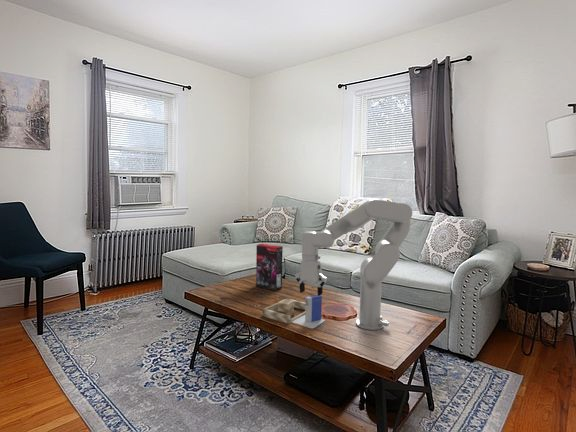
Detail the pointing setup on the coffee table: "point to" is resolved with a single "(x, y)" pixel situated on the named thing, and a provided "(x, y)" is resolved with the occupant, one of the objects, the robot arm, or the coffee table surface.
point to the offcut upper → (285, 305)
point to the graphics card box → (269, 266)
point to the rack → (271, 313)
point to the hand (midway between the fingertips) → (311, 293)
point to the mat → (304, 323)
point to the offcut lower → (288, 313)
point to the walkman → (313, 308)
